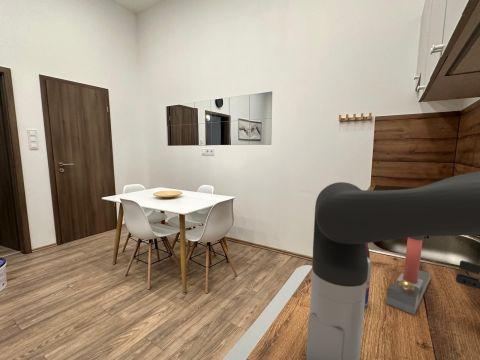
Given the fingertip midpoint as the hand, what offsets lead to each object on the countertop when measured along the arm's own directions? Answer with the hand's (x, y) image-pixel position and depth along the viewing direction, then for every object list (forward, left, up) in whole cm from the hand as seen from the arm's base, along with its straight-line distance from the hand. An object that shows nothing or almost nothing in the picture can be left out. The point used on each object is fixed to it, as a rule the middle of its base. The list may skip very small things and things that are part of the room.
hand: (458, 270), depth 60 cm
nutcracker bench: (+1, +9, -10) cm, 14 cm away
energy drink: (-15, +18, -10) cm, 25 cm away
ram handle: (0, +9, -8) cm, 12 cm away
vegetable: (+10, +28, -10) cm, 31 cm away
